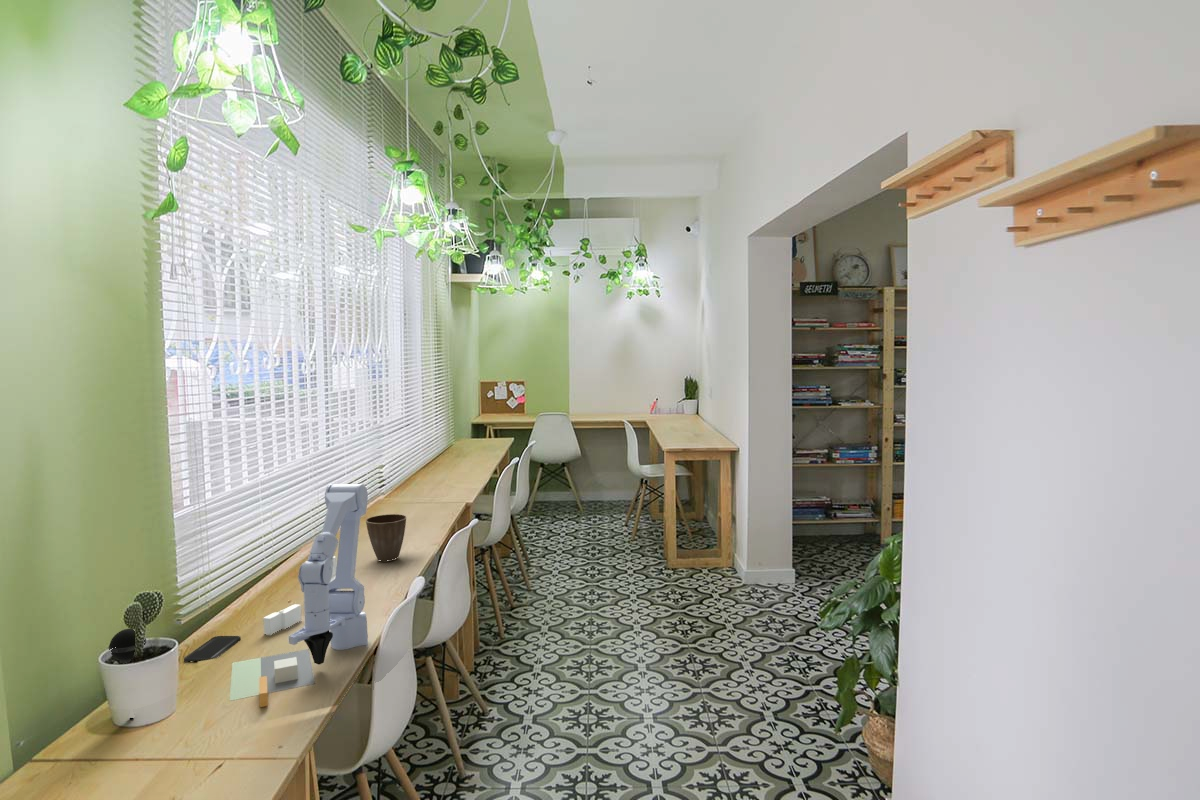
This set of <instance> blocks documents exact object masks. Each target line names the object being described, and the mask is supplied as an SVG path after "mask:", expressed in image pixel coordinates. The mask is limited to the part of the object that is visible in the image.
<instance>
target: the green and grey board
mask: <svg viewBox="0 0 1200 800" xmlns="http://www.w3.org/2000/svg"><path fill="white" fill-rule="evenodd" d="M293 657H296V658H297V667H298V679H295V680H290V681H285V682H280V683H275V671H274V661H277V660H282V659H287V658H293ZM312 664H313V663H312V660H311V652H310V649H309V648H307V649H301V650H295V651H290V652H289V651H288V652H285V653H279V654H274V655H268V656H262V657H261V656H260V657H257V658H252V659H251V658H250V659H246V660H241V661H240V660H239V661H235V662H232V664H231V675H230V676H231V677H230V690H229V702H231V701H235V700H241V699H248V698H252V697H257V696H259V677H264V676H267V692H268V694H272V693H277V692H280V691H286V690H292V689H296V688H301V687H305V686H310V685H316V682H315V676H314V672H313V665H312Z"/></svg>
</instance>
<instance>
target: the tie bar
mask: <svg viewBox="0 0 1200 800" xmlns="http://www.w3.org/2000/svg"><path fill="white" fill-rule="evenodd" d="M268 695H269V693H268V692H267V676H264V677H259V695H258V696H259V708H262V707H263V708H264V707H267V706H269V698H268Z"/></svg>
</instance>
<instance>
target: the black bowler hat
mask: <svg viewBox="0 0 1200 800" xmlns="http://www.w3.org/2000/svg"><path fill="white" fill-rule="evenodd" d="M133 629H134V628H125V629H122V630H119V631H118V632H117V633H116V634H114V636H113V637H112V638H111V639H110V642H109V645H108V648H107V649H108V651H109V650H110V649H112V648H113V649H112V650H111V652H112V653H110V654H111V656H112V657H113V658H114V659H116V660H118V661H119V664H120V663H125V662H130V661H131V658H133V655H134V652H135V631H134V630H133ZM144 642H145V643H144V645H145V646H146V644H147V639H146V637H145V640H144ZM115 647H116V648H115Z"/></svg>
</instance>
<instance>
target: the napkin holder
mask: <svg viewBox="0 0 1200 800" xmlns="http://www.w3.org/2000/svg"><path fill="white" fill-rule="evenodd" d="M301 620H302V605H301V604H295V603H294V604H292V605H290V606H288V607H286V608H284V609H281V610H279V611H278V612H276V611H274V612H272V613H270V614H268V615H266V616H264V617H263V618H262V622H263V624H262V625H263V635H264V634H266V635H265V636H272V634H273V633H274V634H276V633H278V632H280V631H281V629H282V630H284V629H286V628H288V627H289V628H291V627H292V626H291V625H293V624H295V623H297V622H298V623H300V622H302V621H301ZM299 621H300V622H299ZM298 623H297V624H298ZM295 625H296V624H295ZM290 626H291V627H290ZM293 626H294V625H293ZM289 628H288V629H289ZM279 630H280V631H279ZM286 630H287V629H286ZM277 631H278V632H277ZM275 632H276V633H275ZM274 634H273V635H274Z"/></svg>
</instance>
